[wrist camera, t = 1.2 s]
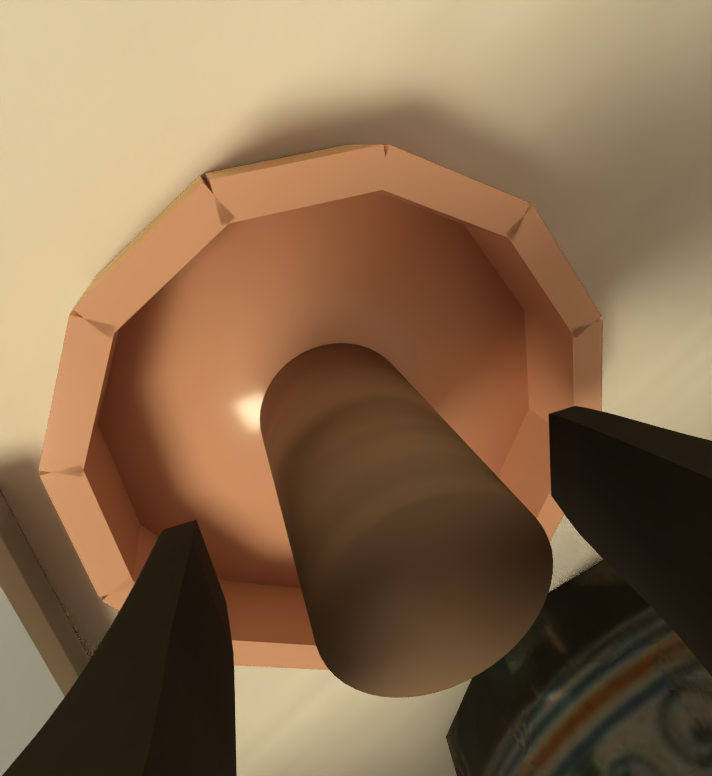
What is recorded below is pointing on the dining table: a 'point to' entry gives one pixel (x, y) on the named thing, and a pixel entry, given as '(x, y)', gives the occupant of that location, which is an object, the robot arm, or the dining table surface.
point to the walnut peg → (396, 528)
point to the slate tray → (30, 644)
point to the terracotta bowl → (288, 340)
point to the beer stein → (589, 693)
